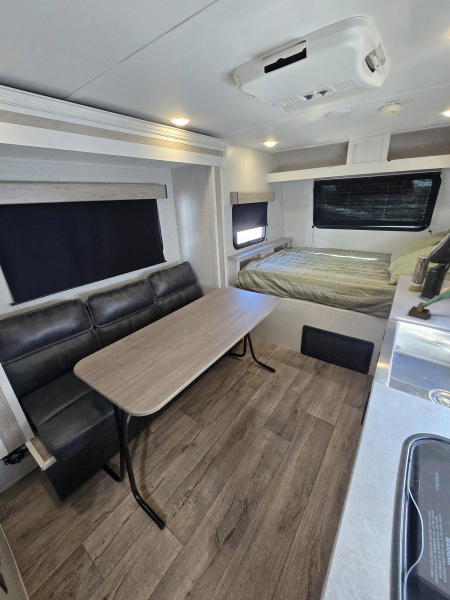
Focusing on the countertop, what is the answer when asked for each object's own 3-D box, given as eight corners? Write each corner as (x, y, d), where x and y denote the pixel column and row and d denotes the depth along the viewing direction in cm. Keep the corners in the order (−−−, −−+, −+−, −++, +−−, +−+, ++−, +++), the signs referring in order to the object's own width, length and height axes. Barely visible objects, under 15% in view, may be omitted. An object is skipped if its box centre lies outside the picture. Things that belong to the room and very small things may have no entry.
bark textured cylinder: (416, 288, 178) (426, 255, 168) (423, 291, 172) (433, 257, 162) (407, 288, 179) (416, 255, 169) (412, 291, 173) (422, 257, 163)
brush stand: (411, 310, 146) (415, 299, 143) (428, 314, 140) (432, 303, 138) (407, 315, 140) (411, 304, 138) (425, 319, 135) (428, 308, 132)
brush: (417, 302, 141) (452, 284, 127) (422, 308, 140) (458, 290, 126) (415, 305, 138) (450, 286, 124) (420, 311, 137) (457, 292, 123)
